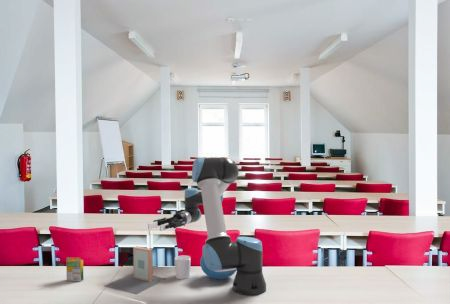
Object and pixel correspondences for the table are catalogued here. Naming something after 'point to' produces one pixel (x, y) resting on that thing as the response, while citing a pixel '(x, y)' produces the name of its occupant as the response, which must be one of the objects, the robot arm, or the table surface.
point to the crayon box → (74, 269)
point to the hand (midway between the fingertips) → (154, 227)
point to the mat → (134, 284)
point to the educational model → (216, 274)
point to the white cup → (182, 266)
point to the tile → (143, 263)
